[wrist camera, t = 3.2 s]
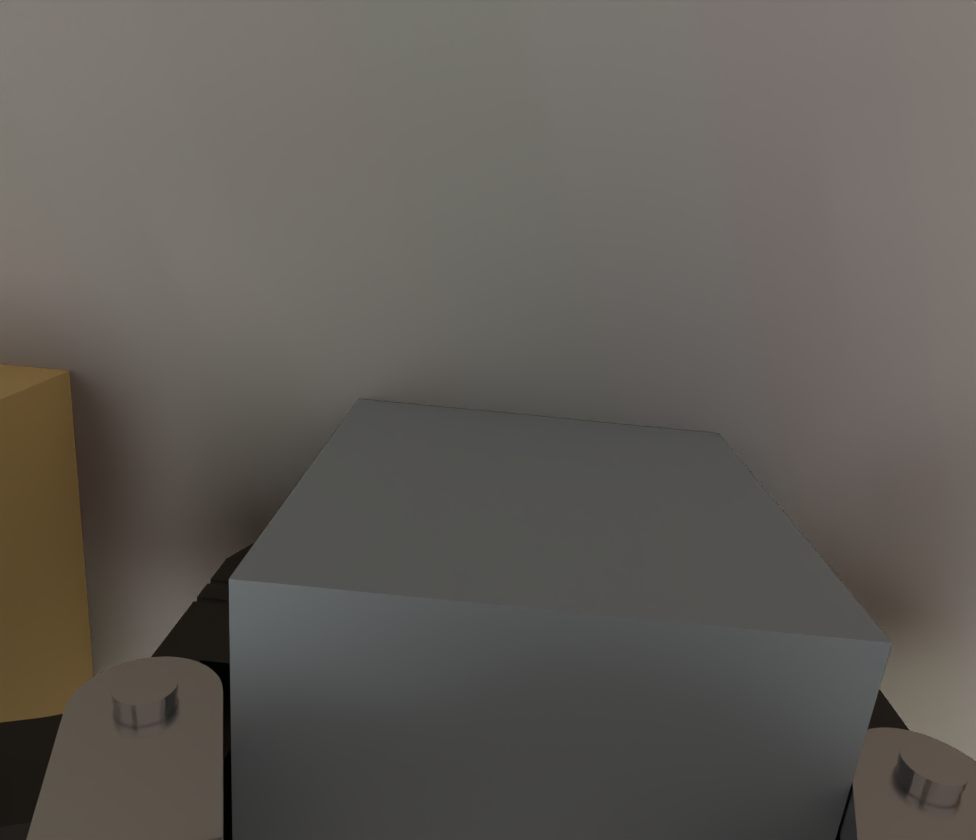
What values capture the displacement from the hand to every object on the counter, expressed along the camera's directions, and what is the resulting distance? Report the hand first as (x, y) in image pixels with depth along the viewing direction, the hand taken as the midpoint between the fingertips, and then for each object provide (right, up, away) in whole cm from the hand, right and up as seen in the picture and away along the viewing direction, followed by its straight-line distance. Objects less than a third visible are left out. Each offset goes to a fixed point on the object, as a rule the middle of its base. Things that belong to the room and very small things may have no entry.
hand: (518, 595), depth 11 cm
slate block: (0, 0, 0) cm, 0 cm away
